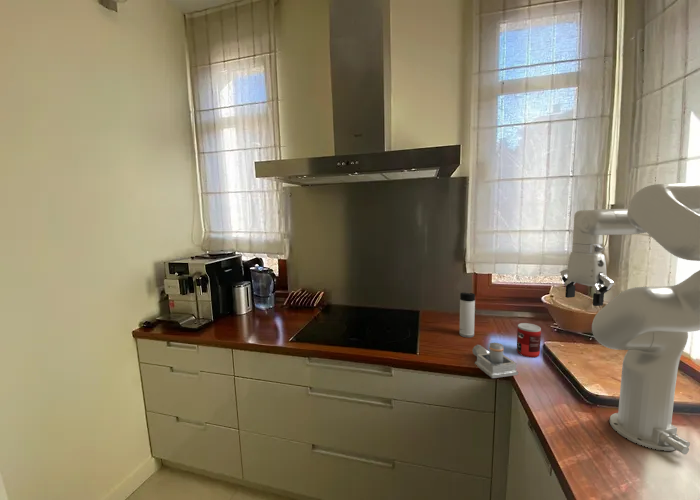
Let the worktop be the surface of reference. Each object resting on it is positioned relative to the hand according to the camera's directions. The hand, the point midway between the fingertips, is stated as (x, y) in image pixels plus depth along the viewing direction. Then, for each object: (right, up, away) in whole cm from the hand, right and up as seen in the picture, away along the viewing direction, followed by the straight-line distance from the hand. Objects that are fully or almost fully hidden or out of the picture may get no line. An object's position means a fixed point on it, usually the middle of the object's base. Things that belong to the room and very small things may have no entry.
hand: (583, 301), depth 100 cm
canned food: (-6, -24, +21) cm, 33 cm away
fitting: (-24, -26, +13) cm, 38 cm away
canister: (-24, -25, +9) cm, 36 cm away
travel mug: (-23, -22, +40) cm, 51 cm away
